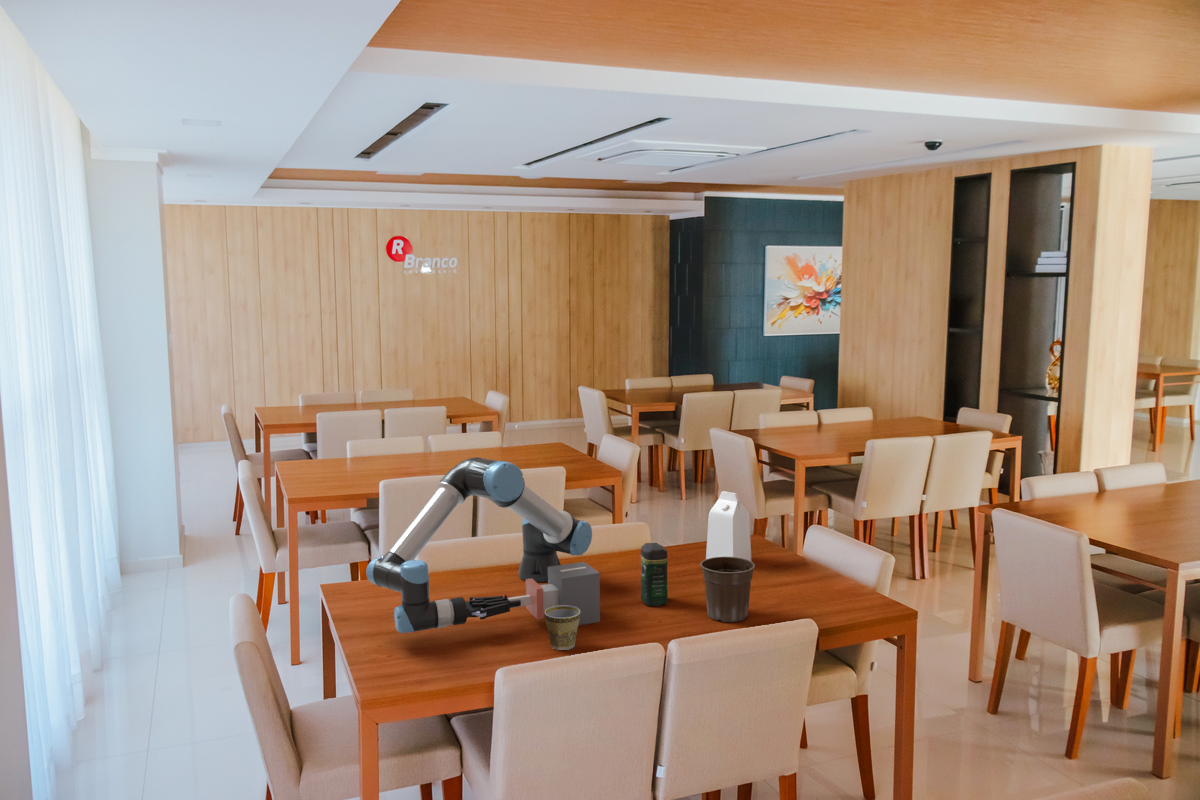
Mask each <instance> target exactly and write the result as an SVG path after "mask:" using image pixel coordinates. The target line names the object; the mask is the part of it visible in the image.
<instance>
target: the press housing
mask: <svg viewBox="0 0 1200 800" xmlns="http://www.w3.org/2000/svg"><path fill="white" fill-rule="evenodd" d="M600 573H601V572H599V571H598V570H596V569H595V568H593V567H592V566H591V565H589V564H588V563H586V562H585V561H581V562H574V563H567V564H561V565H558V566H551V567H548V581H547V584H553V585H555V586H556V587H557V588H558V589H559V605H569V606H574V607H577V608H578V609H580V619H579V624H578V626H584V625H589V624H595V623H601V589H600V588H601V581H600V579H601V578H600ZM583 624H584V625H583Z"/></svg>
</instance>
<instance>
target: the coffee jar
mask: <svg viewBox="0 0 1200 800" xmlns="http://www.w3.org/2000/svg"><path fill="white" fill-rule="evenodd" d="M668 562H669V561H668V550H667V548H666V547H665V546H664V545H661V544H659V543H657V542H646V543H644V544H643V545H642V546H641V547H640V568H641V570H640V599H641V601H642V602H643V603H644V605H646V606H654V607H659V606H660V607H661V606H662V605H666V604H668Z"/></svg>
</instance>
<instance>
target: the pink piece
mask: <svg viewBox="0 0 1200 800" xmlns="http://www.w3.org/2000/svg"><path fill="white" fill-rule="evenodd" d="M525 595H530V596H531V605H529V606H525V609H527V611H529V613H530V614H531V615H532V616H533V617H534V618H535V619H536V620H543V619H545V614H544V611H545V610H546V609H548V608H550V607H553V606H558V605H559V589H558V588H557V587H556V586H555V585H553V584H548V583H545V584H539V582H536V581H534V580H533V579H532V578H531V579H526V580H525Z"/></svg>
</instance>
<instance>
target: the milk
mask: <svg viewBox="0 0 1200 800" xmlns="http://www.w3.org/2000/svg"><path fill="white" fill-rule="evenodd" d="M707 521H708V522H707V537H706V552H705V553H706V555H705V559H709V558H714V557H737V558H743V559H747V560H749V561H751V562H752V549H751V546H752V545H751V544H752V543H751V527H750V526H751V523H750V513H749V510H748V508H746V507H745V506H744V504H743V503H742V502H741V501H740V498H739V495H738V493H736V492H730V491H724V490H722V491H721V492H720V494H719V497H718V499H717V500H716V502H715V503H714V505H713V506H712V507H711V509H710V511H709V512H708V520H707Z"/></svg>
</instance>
